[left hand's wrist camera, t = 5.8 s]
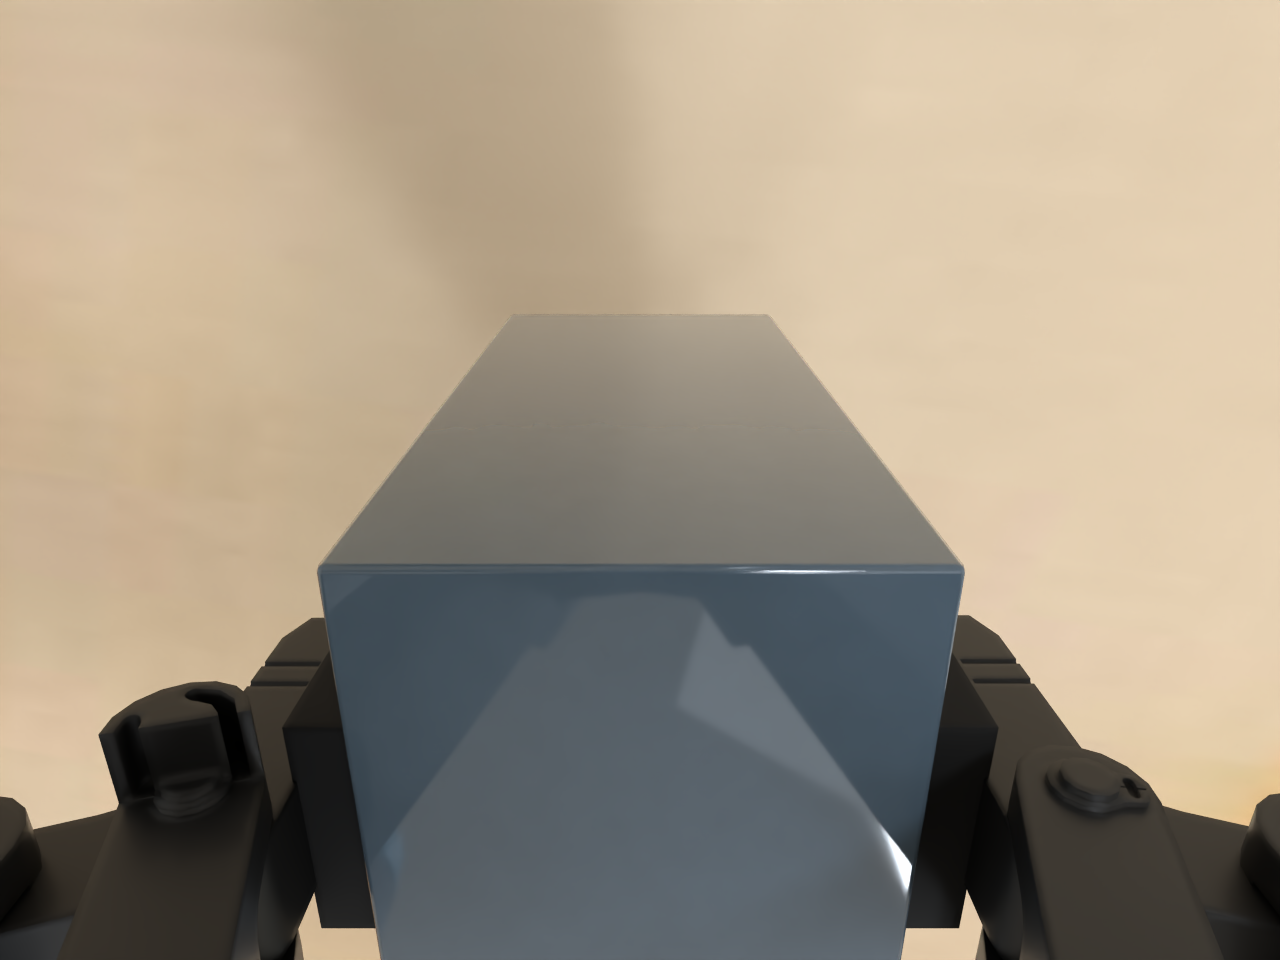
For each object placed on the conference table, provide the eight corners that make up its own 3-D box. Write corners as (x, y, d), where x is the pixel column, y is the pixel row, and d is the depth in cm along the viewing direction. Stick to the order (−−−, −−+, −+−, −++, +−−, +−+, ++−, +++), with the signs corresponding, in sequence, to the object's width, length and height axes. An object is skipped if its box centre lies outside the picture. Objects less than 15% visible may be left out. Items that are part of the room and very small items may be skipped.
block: (510, 313, 18) (312, 567, 7) (770, 314, 18) (968, 567, 7) (526, 591, 20) (399, 1087, 9) (754, 591, 20) (882, 1088, 9)
